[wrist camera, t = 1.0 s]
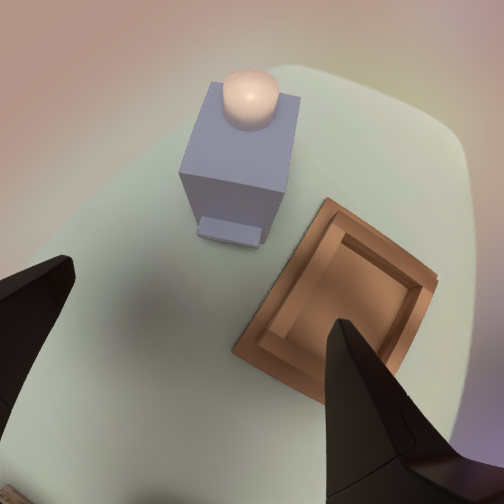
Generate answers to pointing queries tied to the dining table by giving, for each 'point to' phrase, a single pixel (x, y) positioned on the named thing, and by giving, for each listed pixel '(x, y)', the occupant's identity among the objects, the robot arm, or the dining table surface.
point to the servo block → (240, 157)
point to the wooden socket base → (337, 301)
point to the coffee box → (12, 496)
